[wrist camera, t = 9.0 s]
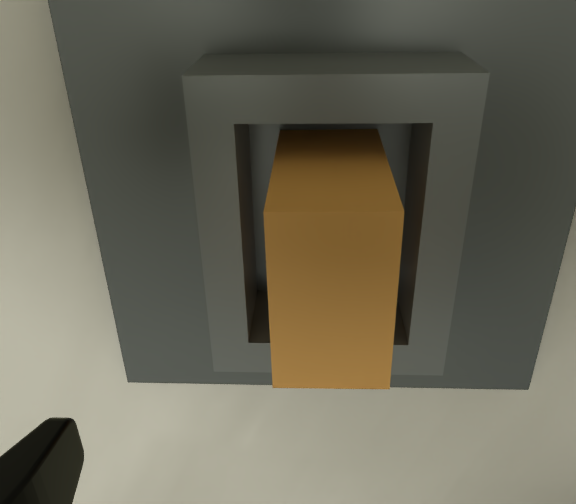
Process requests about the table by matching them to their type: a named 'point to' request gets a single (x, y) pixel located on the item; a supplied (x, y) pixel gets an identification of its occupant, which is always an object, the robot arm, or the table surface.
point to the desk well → (325, 116)
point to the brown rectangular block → (332, 259)
